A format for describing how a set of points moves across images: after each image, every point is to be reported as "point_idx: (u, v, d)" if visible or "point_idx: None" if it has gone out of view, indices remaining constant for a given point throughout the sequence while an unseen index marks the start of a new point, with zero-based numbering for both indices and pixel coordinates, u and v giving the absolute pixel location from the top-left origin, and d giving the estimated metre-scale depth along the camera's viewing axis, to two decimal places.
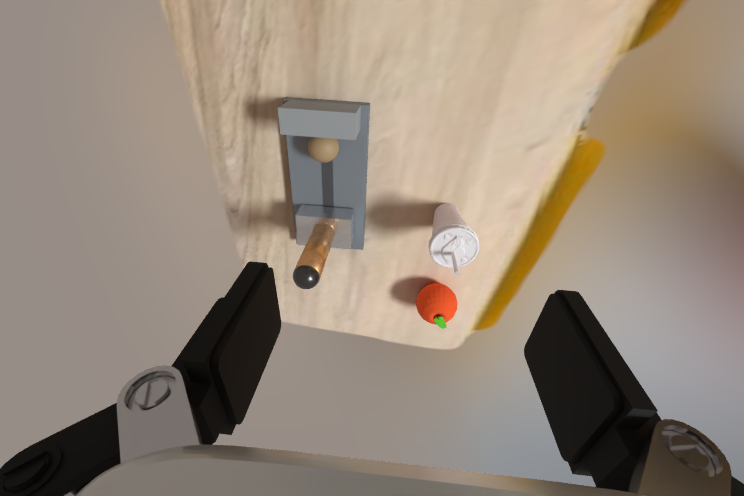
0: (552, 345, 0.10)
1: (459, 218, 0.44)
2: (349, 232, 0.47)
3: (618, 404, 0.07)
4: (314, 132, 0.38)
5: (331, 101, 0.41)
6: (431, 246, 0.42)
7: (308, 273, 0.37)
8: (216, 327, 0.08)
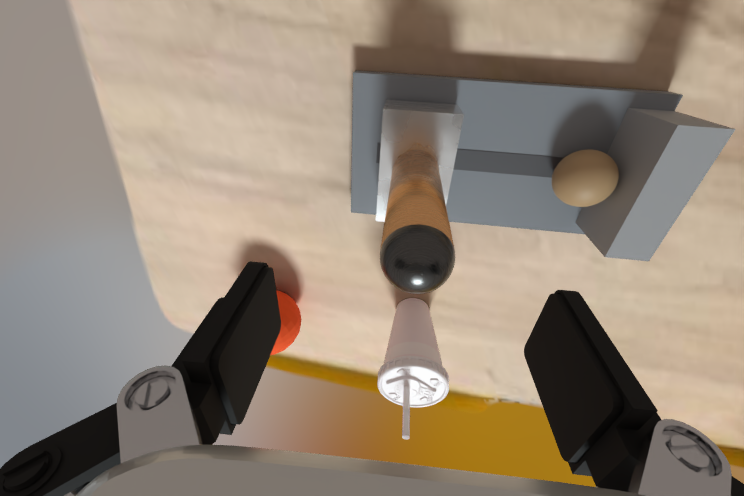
0: (552, 345, 0.10)
1: None
2: None
3: (618, 404, 0.07)
4: (648, 194, 0.20)
5: None
6: (418, 367, 0.27)
7: (443, 282, 0.13)
8: (216, 327, 0.08)
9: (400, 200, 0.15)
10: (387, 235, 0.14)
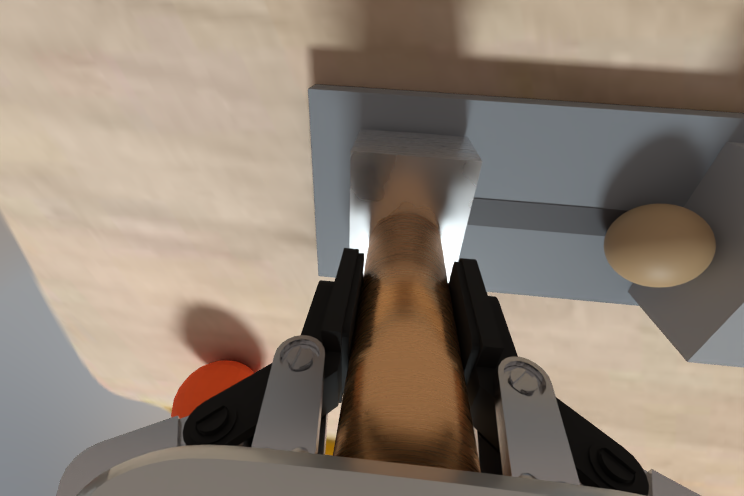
0: None
1: None
2: None
3: (476, 345, 0.08)
4: None
5: None
6: None
7: None
8: (339, 303, 0.09)
9: (372, 364, 0.08)
10: None
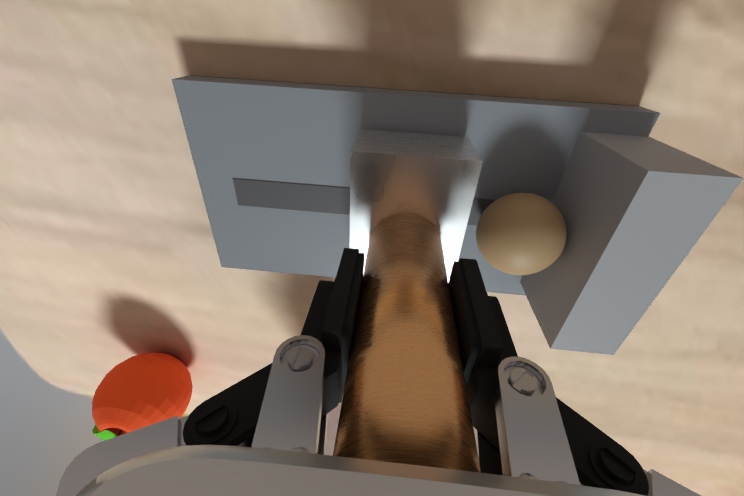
0: None
1: None
2: None
3: (476, 345, 0.08)
4: (607, 270, 0.13)
5: None
6: None
7: None
8: (339, 303, 0.09)
9: (372, 364, 0.08)
10: None
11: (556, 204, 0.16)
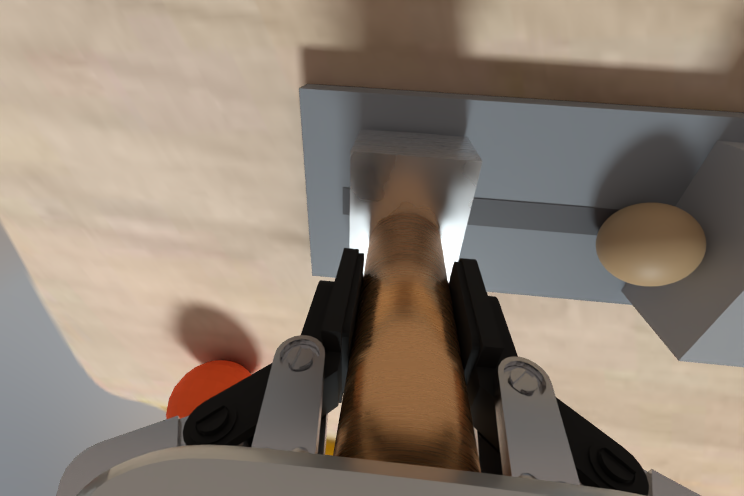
0: None
1: None
2: None
3: (476, 345, 0.08)
4: None
5: None
6: None
7: None
8: (339, 303, 0.09)
9: (373, 364, 0.08)
10: None
11: None
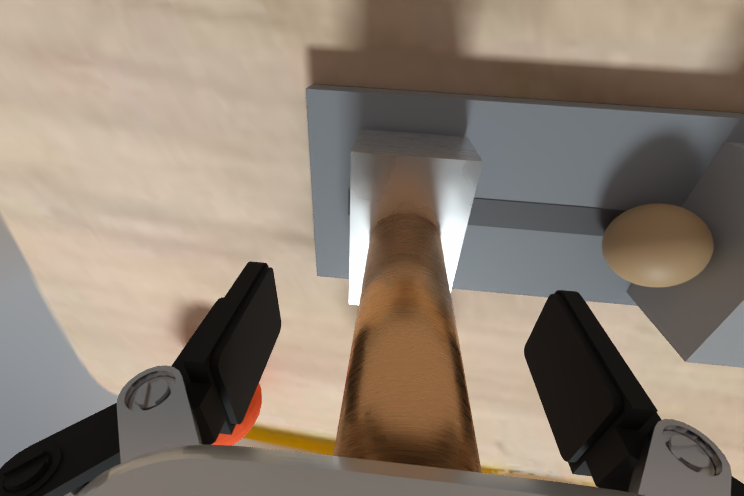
0: (552, 345, 0.10)
1: None
2: None
3: (618, 404, 0.07)
4: None
5: None
6: None
7: None
8: (216, 327, 0.08)
9: (372, 364, 0.08)
10: None
11: None
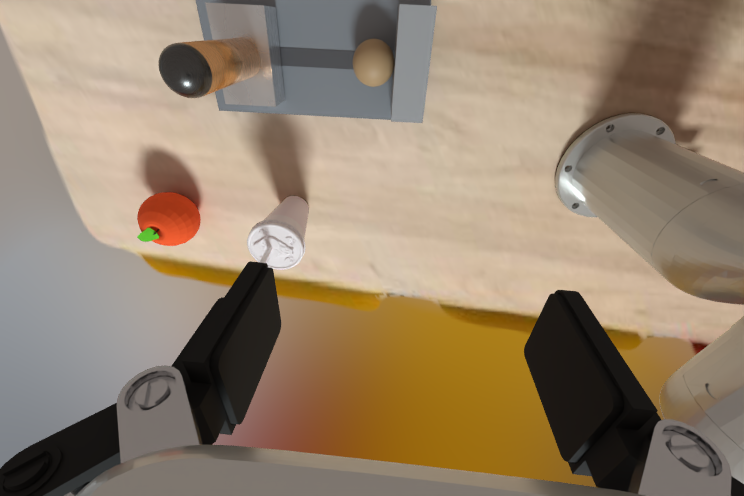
0: (552, 345, 0.10)
1: None
2: (254, 103, 0.32)
3: (618, 404, 0.07)
4: (401, 63, 0.28)
5: None
6: (272, 225, 0.35)
7: (199, 82, 0.21)
8: (216, 327, 0.08)
9: None
10: None
11: (395, 50, 0.32)
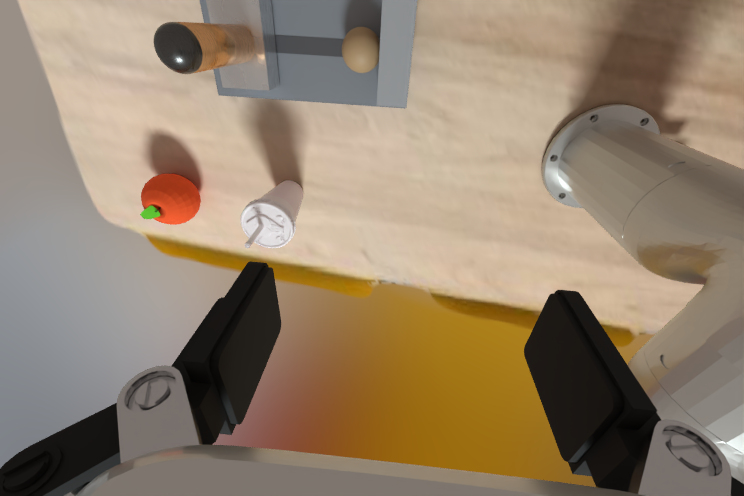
0: (552, 345, 0.10)
1: (296, 217, 0.42)
2: (249, 86, 0.34)
3: (618, 404, 0.07)
4: (385, 49, 0.30)
5: None
6: (263, 204, 0.36)
7: (190, 58, 0.23)
8: (216, 327, 0.08)
9: None
10: None
11: None
